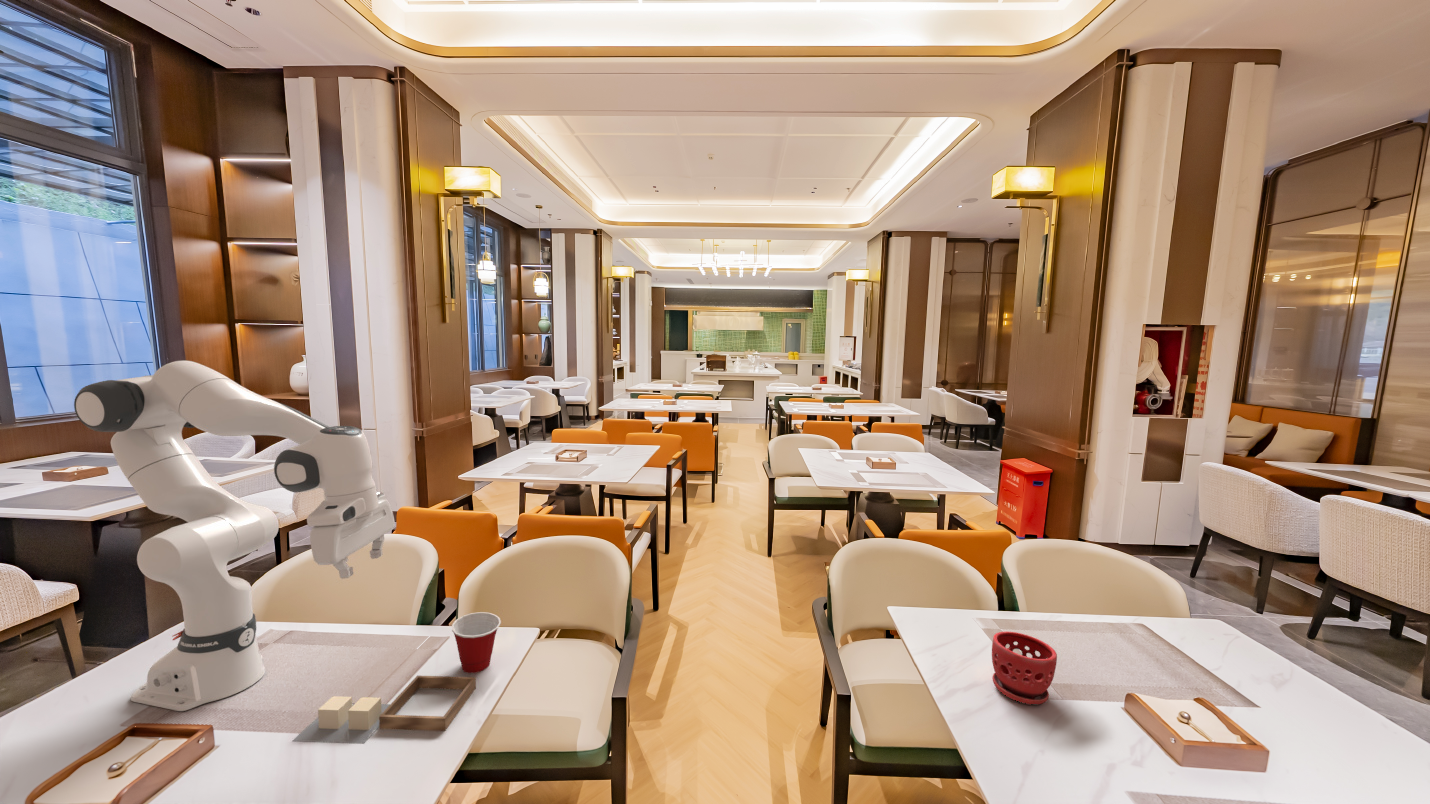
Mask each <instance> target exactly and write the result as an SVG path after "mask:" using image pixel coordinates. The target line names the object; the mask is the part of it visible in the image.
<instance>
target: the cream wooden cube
mask: <svg viewBox="0 0 1430 804" xmlns="http://www.w3.org/2000/svg"><path fill="white" fill-rule="evenodd" d="M352 703H353V696H341V695H340V696H337V695H336V696H335V695H334V696H331V697H330V698H329V699H328V700H327V701H326V702H325V703H323V705H321V706H320V707H319V708H318V709H317V715H318V716H317V718H318V721H319V728H325V729H339V728H340V727H341V726H342V725H343V724H344V723H345V722H346V721H347V720H348V710H349V709H350V708H351V707H352V706H353V705H352Z"/></svg>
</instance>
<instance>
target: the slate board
mask: <svg viewBox="0 0 1430 804" xmlns="http://www.w3.org/2000/svg"><path fill="white" fill-rule="evenodd" d="M355 703H356V702H352V705H354V704H355ZM390 704H391V703H389V704H387V703H384V704H383V703H381V710H382V713H383V712H384V711H385V710H386V709H387V708H388V707H389V705H390ZM378 729H380V728H379V719H378V720H377V721H376V723H375V724H374V725H373V726H372V727H371V728H370V729H369V730H357V729H349V722H348V720H347V721H346V722H345V723H344V724H343V725H342V726H341V727H340V728H339V729H325V728H319V721H318V717H316V719H314V721H312V722H311V723H310V724H309V725H308V726H307V727H306V728H305V729H304V730H303V731H301V732H300V733H299V734H298V735H297V736H296V737H295V738H293V740H292V742H297V743H298V742H304V743H305V742H306V743H331V744H332V743H333V744H335V743H337V744H363V745H365V743H367V741H368V740H369V739H370V738H371V737H372V736H373V735H374V734H375V732H376V731H377V730H378Z"/></svg>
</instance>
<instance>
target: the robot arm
mask: <svg viewBox="0 0 1430 804" xmlns="http://www.w3.org/2000/svg"><path fill="white" fill-rule="evenodd" d="M73 402H74V403H73V407H74V412H75V414H76V415H75V416H76V417H77V419H79V421H80V422H81V423H82V424H83V425H84V426H86V427H87V428H88V429H90V430H91V431H92V430H93V431H95V432H98V433H99V432H100V433H115V434H113V436H112V437H111V440H110V446H111V450H112V453H113V456H114V458H115V461H116V463H117V465H118V466H119V468H120V470H121V471H122V474H123V475H124V477H125V478H126V480H127V481H128V483H129V484H130V485H131V487H132V488H133V490H134V491H135V492H136V493H137V494H138V497H140V499H141V500H142V503H144V504H145V505H146V507H147V509H148V510H150V511H152V512H153V513H156V514H161V515H167V516H173V517H176V518H178V519H181V520H183V521H185V522H186V523H182V524H179V525H176V526H172V527H170V528H168V529H166V530H163V531H162V532H160V533H157V534H155V535H154V536H151V537H150V538H148V539H146V540H145V541H144V542H143V543H142V544H141V545H140V547H139V549H138V552H137V555H136V563H137V566H138V568H139V570H140V572H141V573H142V574H143V575H144V576H145V577H146V578H148V579H150V580H152V581H154V582H159V583H162V584H166V585H167V586H169V587H170V588H172V589H173V590H174V591H175V593H176V594H177V596H178V597H179V600H180V603H181V607H182V615H183V622H184V628H183V630H180V631H179V632H177V633H175V634H173V635H171V636H172V637H174V638H173V639H172V641H176V640H177V639H179V638H180V639H179V641H178V643H177V646H176V647H174V648H173V649H171V650H170V651H169V652H168V653H166V654H165V655H164V656H162V657H161V658H159V659H158V660H157V661H156V662H154V663H153V664H152V665H151V666H150V667H149V670H148V673H147V676H146V682H145V683H144V684H142V685H140V686H139V688H137V689H136V690H135V691H134V692H133V693H132V694H131V695H130V696H131V697H130V701H131V702H134V703H139V704H143V705H148V706H153V707H158V708H163V709H166V710H167V709H168V710H171V711H176V712H184V711H188V710H191V709H194V708H196V707H198V706H201V705H204V704H207V703H210V702H211V703H212V702H214V701H218V700H222V699H224V698H228V697H230V696H233V695H235V694H237V693H239V692H240V693H241V692H242V691H244V690H246V689H248V688H249V687H251V686H252V685H255V683H257V682H258V681H259V680H261V679H262V677H263V676H264V675H265V673H266V667H265V665H264V657H263V655H262V654H261V652H260V648H259V642H258V638H257V634H256V632H257V618H256V614H255V613H254V611H253V609H254V608H253V596H252V592H253V591H252V586H251V584H250V582H248V581H247V580H245V579H244V578H241V577H238V576H231V575H230V573H229V572H228V569H227V565H228V563H229V562H231V561H233V560H236V559H238V558H241V557H244V556H245V555H248V554H251V553H254V552H256V551H257V550H259V549H261V548H262V547H264V546H266V544H269V543H270V542H271V541H272V540H274V539H275V537H277V534H278V532H279V528H280V524H279V519H278V517H277V515H276V514H275V512H274V511H273V510H272V509H271V508H268V507H267V506H264V505H259V504H254V503H250V502H248V501H246V500H243V499H241V498H240V497H237V496H235V495H233V494H232V493H230V492H229V491H227V489H225V488H224V487H222V486H221V485H219V483H217V481H216V480H214V479H213V477H212V476H211V474H209V472H208V471H207V470H206V468H205V467H204V465H203V464H202V463H201V462H200V460H199V458H197V456H196V455H195V453H194V452H193V450H192V449H191V448H190V447H189V446H188V444H187V443H186V442H185V440H184V438H183V434H182V433H183V429H184V428H188V429H193V428H196V429H198V430H201V431H203V432H206V433H208V434H211V435H214V436H219V437H238V436H239V437H242V436H243V437H245V436H272V437H273V436H274V437H280V438H283V439H288V440H290V441H292V442H293V443H296V444H298V445H295V446H293V447H289V448H288V449H285V450H283V451H281V452H280V453H279V454H278V455H277V456H276V458H275V461H274V464H273V474H274V476H275V479H276V481H277V483H278V484H279V485H280V487H282V488H283V489H285V490H287V491H289V492H291V493H306V492H310V491H313V490H316V489H322V490H323V497H324V500H322V501H321V502H320V504H319V505H318V506H317V507H316V508H315V509H314V510H313V511H312V512H311V513H310V514H308V515H307V517H306V523H307V526H309V527H312V529H310V534H309V540H310V548H311V554H312V558H313V561H314V562H315V563H316V564H317V565H318V566H329V565H332V566H333V567H334V568H335V569H336V570H337V571H338V574H339V578H340V579H341V580H343V579H348V578H350V577H351V576H353V575H354V567H353V566H349V565H348V561H349V559H348V557H349V556H351V555H352V554H354V553H356V552H357V551H359V550H360V549H362V548H364V547H365V546H368V545H369V544H372V546H371V550H369V558H370V559H371V560H374V559H379V558H380V557H382V556H383V545H384V541H385V534H387V533H389V532H390V531H392V530H393V529H394V528H395V517H394V511H393V509H392V505H391V503H390V501H389V500H388V499H387V495H386V494H384V492H382V491H377V485H376V482H375V480H374V478H373V475H372V472H373V471H372V470H373V466H374V465H373V459H372V452H371V448H370V444H369V441H368V438H367V436H366V434H365V433H364V431H363V430H362V429H361V428H358V427H356V426H350V425H335V426H328V425H326V424H325V423H323V422H322V421H319V420H316V419H315V418H313V417H312V416H310V415H308V414H305V413H303V412H302V411H300V410H297V409H296V408H293V407H291V406H289V405H286V404H284V403H281V402H279V401H276V400H274V399H273V400H272V399H270V398H268V397H266V396H264V395H261V394H259V393H256V392H255V391H251V390H249V389H248V388H247V387H245V386H242V385H241V384H239V383H238V382H236V381H234V380H233V379H231V378H229V377H228V376H226V375H224V374H222V373H221V372H219V371H216V370H215V369H213V368H211V367H208V366H206V365H203V364H201V363H199V362H195V361H192V360H175V361H172V362H168V363H166V364H164V365H162V366H161V367H159V368H158V369H157V370H156V371H155V372H154V374H153V375H152V374H151V375H143V376H139V377H128V378H122V379H115V380H113V379H108V380H103V381H98V382H94V383H90V384H88V385H85V386H84V387H82V388H80V390H79V391H78V393H77V394H76V396H75V397H74V401H73Z"/></svg>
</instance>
